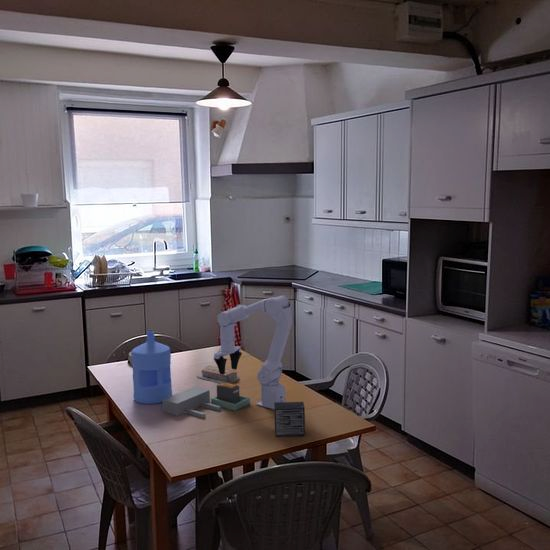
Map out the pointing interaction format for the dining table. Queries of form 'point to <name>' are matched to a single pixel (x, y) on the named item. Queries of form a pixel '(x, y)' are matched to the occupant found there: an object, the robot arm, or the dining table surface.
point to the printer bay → (189, 402)
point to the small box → (289, 419)
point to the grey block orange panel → (228, 392)
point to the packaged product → (218, 375)
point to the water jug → (151, 371)
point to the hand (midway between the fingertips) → (228, 371)
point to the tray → (243, 402)
